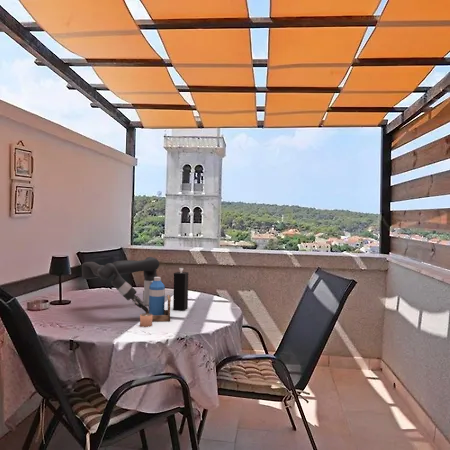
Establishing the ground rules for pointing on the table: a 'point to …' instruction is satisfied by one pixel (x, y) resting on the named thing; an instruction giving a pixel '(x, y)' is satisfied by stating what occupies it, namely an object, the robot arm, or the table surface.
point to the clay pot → (146, 320)
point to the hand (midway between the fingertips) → (147, 310)
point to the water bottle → (156, 297)
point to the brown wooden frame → (162, 317)
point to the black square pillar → (180, 290)
